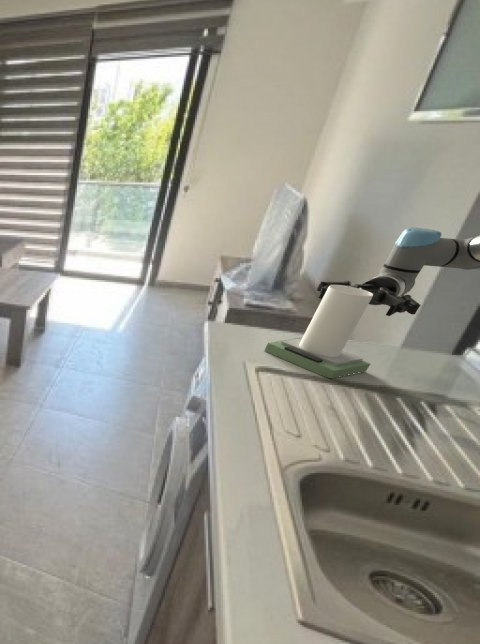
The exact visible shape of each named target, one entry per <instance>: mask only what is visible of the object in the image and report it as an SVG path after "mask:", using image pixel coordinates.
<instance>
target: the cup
mask: <svg viewBox="0 0 480 644" xmlns="http://www.w3.org/2000/svg"><path fill="white" fill-rule="evenodd" d="M372 297H373V294H372V293H371V292H369V291H366V290H363V289H359V288H355V287H350V286H343V285H330V286H329V287H328V289H327V291H326V293H325V295H324V297H323V299H321V301H320V303H319V304H318V307H317V308H316V311H315V312H314V314H313V317H312V319H311V320H310V323H309V324H308V326H307V328H306V330H305V332H304V334H303V336H302V337H301V338H302V340H301V342H300V344H299V346H300V347H301V348H302V349H304V350H306V351H308V352H311V353H314V354H317V355H321V356H327V357H338V356H339V355H340V354H341V352H342V350H343V351H344V348H345V346H346V344H347V343H348V341H349V340H350V338H351V337H352V334H353V332H354V330H355V329H356V327H357V325H358V324H359V322H360V320H361V319H362V316H363V314H364V313H365V311H366V310H367V308H368V306H369V305H370V304H369V302H370V300H371V299H372Z"/></svg>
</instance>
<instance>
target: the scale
mask: <svg viewBox="0 0 480 644" xmlns="http://www.w3.org/2000/svg"><path fill="white" fill-rule="evenodd" d="M302 338H303V337H296V338H290V339H285V340H284V339H283V340H277V341H271V342H268V343H267V344H266V346H265V348H264V350H263V351H264V352H266V353H267V354H270V355H272V356H275V357H277V358H280V359H282V360H284V361H287V362H289V363H292V364H294V365H296V366H298V367H301V368H302V369H306V370H308V371H310V372H313V373H314V372H315V373H314V374H317V375H319V374H320V375H319V376H321V375H322V376H321V377H324V376H325V377H324V378H326V377H329V378H334V377H339V376H343V377H345V376H344V375H348V374H353V373H358V372H362V373H365V372H364V371H366V372H367V371H368V369H369V367H370V366H371V363H370V362H368V361H365V360H363V359H364V358H363V357H361V356H359V355H357V354H356V355H355V354H353V353H350V352H348V351H345V350H344V349H343V350H342V352H341V354H340V355H339V356H338V357H327V356H321V355H317V354H314V353H311V352H308V351H306V350H304V349H302V348H301V347H300V346H299V344H300V342H301V340H302ZM358 374H359V373H358ZM353 375H354V374H353ZM348 376H349V375H348ZM339 378H340V377H339ZM334 379H335V378H334Z"/></svg>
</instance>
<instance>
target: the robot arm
mask: <svg viewBox="0 0 480 644" xmlns="http://www.w3.org/2000/svg"><path fill="white" fill-rule="evenodd" d="M442 235H443V234H442V232H441V231H439V230H435V229H430V228H422V227H408V228H406V229H404V230H402V233H401V234H400V235H399V237H398V238H397V240H396V241H395V242H394V246H393V247H392V249H391V251H390V252H389V255H388V257H387V259H386V261H385V263H383V265H382V267H381V269H380V270H379V272H378V274H377V276H375V277H372V278H370V279H367V280H366V281H364V282H363V283H361V284H360V283H355V284H353V285H352V282H351V281H350V280H345V281H320V282H319V284H318V286H317V288H316V291H317V292H319V293H320V294H319V296H318V299H321V300H322V299H323V297H324V295H325V293H326V291H327V289H328V287H329V286H330V285H343V286H350V287H355V288H359V289H363V290H366V291H369V292H371V293H372V294H373V297H372V299H371V300H370V302H369V304H368V305H370V306H383V305H384V306H388V307H389V308H388V310H387V312H386V313H385V316H386V317H387V316H388V317H391V316H392V315H394V314H396V313H399V314H402V313H406V312H407V313H408V314H409V315H416V313H417V312H418V310H419V309H420V307H421V304H420V303H419V302H418V301H416V300H415V299H414V298H412V295H411V294H408V293H409V292H411V291H412V289H413V288H414V287H415V284H416V279H417V277H418V276H419V274H420V272H421V271H422V269H423V268H424V267H425V266H427V267H439V268H448V269H450V268H451V269H460V270H465V271H466V270H467V271H468V270H480V235H476V236H473V237H468V238H464V239H463V238H462V239H459V238H448V237H447V238H446V237H442Z"/></svg>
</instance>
